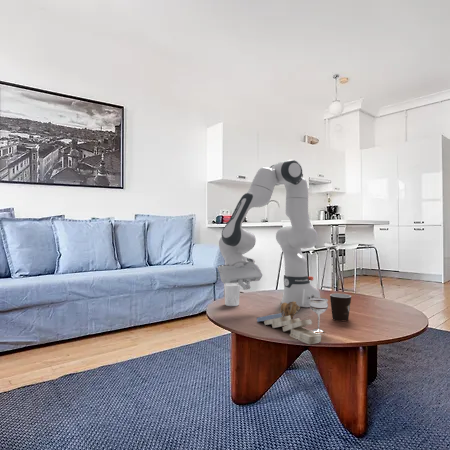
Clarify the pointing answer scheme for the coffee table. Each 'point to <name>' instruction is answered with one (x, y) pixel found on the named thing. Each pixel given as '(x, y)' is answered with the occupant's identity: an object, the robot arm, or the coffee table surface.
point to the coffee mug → (340, 306)
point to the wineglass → (318, 308)
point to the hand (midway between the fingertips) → (247, 288)
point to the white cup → (232, 294)
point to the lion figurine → (289, 309)
